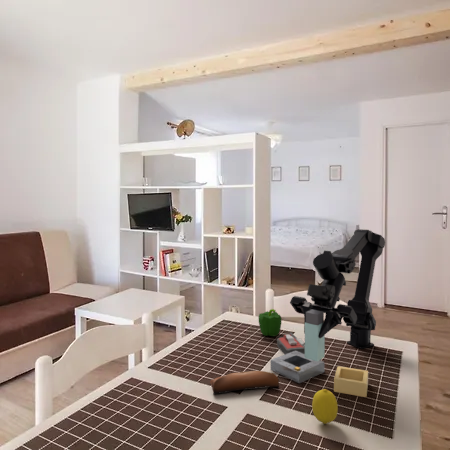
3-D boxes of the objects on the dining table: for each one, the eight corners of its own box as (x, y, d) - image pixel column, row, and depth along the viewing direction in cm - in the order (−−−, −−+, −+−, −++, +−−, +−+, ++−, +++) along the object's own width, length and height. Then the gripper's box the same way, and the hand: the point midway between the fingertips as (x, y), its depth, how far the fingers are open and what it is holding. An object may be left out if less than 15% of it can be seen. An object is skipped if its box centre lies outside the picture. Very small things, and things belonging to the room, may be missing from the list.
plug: (311, 353, 111) (311, 309, 110) (324, 356, 109) (324, 311, 108) (304, 357, 108) (304, 312, 107) (317, 361, 106) (317, 315, 105)
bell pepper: (255, 331, 147) (255, 306, 146) (276, 329, 149) (276, 304, 148) (263, 339, 139) (263, 312, 138) (284, 337, 141) (284, 310, 140)
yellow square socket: (337, 378, 108) (337, 366, 108) (367, 383, 105) (368, 370, 105) (333, 391, 101) (334, 378, 101) (366, 397, 98) (366, 383, 98)
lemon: (308, 417, 89) (309, 384, 89) (332, 416, 90) (332, 382, 89) (316, 432, 84) (316, 396, 83) (341, 430, 84) (341, 394, 83)
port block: (295, 359, 121) (295, 349, 121) (324, 372, 112) (324, 360, 112) (270, 369, 114) (270, 358, 114) (299, 383, 106) (299, 371, 105)
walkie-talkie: (314, 358, 123) (293, 336, 142) (314, 344, 122) (293, 324, 142) (287, 360, 121) (270, 338, 141) (287, 347, 121) (270, 326, 141)
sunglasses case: (269, 373, 111) (273, 359, 108) (276, 396, 106) (280, 381, 102) (207, 380, 108) (209, 365, 104) (211, 404, 102) (213, 389, 98)
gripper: (293, 269, 116) (272, 314, 108) (353, 277, 104) (334, 328, 96) (306, 290, 122) (287, 333, 115) (364, 300, 110) (347, 349, 103)
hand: (312, 335), depth 107 cm, fingers closed on plug, 4 cm apart
